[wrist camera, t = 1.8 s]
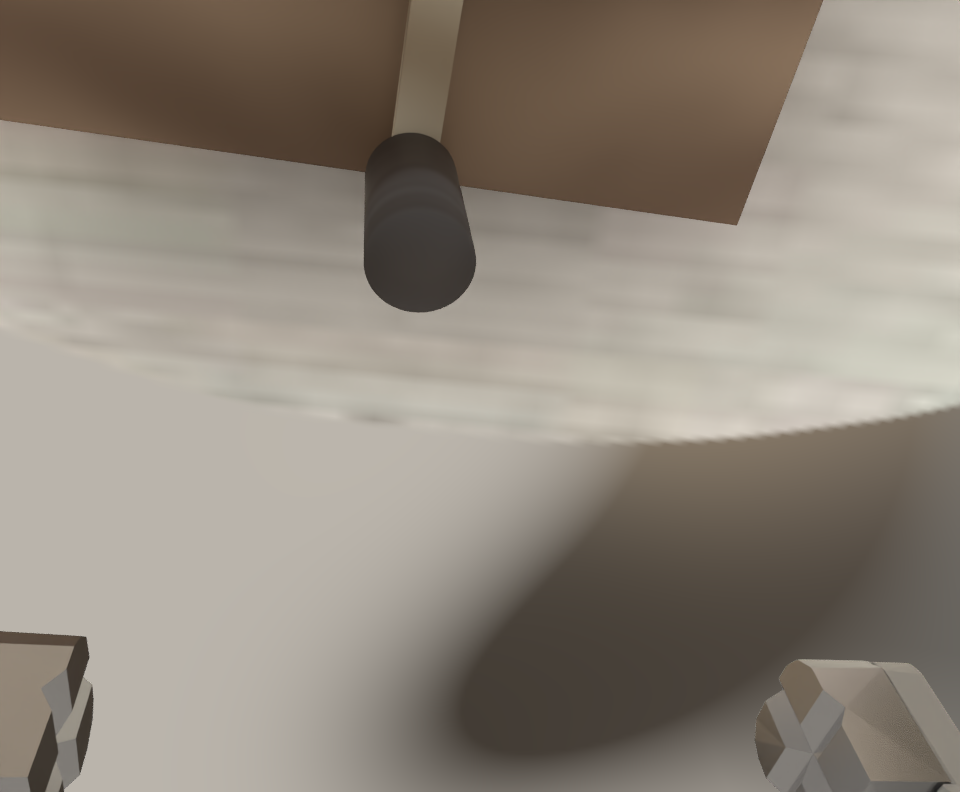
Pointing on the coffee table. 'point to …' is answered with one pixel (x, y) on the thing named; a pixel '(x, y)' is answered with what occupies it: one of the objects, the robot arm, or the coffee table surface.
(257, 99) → the board
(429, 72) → the tuning crank
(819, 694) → the robot arm
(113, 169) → the coffee table surface
